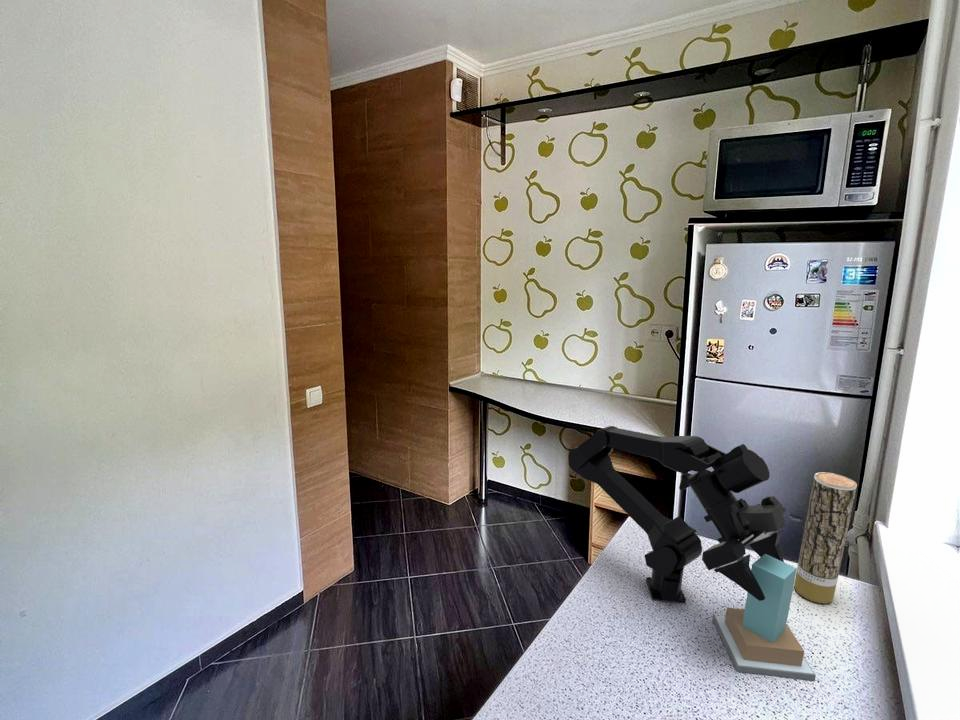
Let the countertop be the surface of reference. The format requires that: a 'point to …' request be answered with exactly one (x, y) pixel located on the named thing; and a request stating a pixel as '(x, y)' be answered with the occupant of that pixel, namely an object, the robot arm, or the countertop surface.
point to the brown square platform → (761, 649)
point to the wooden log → (824, 536)
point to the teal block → (770, 598)
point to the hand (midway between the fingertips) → (774, 589)
